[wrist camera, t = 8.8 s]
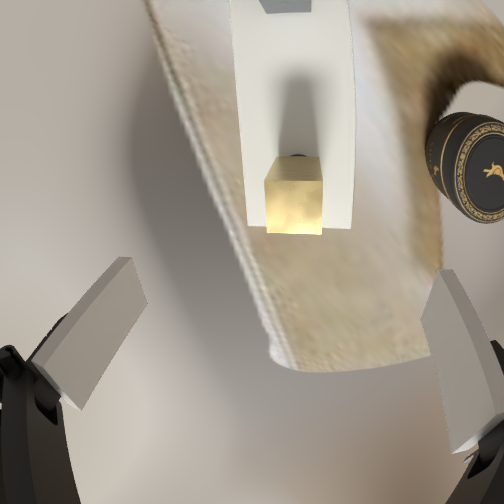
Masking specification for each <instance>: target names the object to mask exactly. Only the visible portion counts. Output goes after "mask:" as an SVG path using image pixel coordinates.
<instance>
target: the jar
mask: <svg viewBox="0 0 504 504" xmlns="http://www.w3.org/2000/svg"><path fill="white" fill-rule="evenodd" d="M426 162H427V166H428V170H429V172H430V175H431V177H432V180H433V181H434V183H435V185H436V186H437V188H438V189H439V190H440V191H441V192H442V193H443V194H444V195H445V196H446V197H447V198H448V199H449V200H450V201H451V202H452V204H453V205H454V206H455V207H456V208H457V209H458V210H460V211H461V212H462V213H463V214H464V215H466V216H467V217H468V218H470V219H471V220H473V221H476V222H479V223H486V224H488V223H494V222H498V221H500V220H502V219H503V218H504V123H503V122H501V121H499V120H497V119H494V118H493V117H490V116H487V115H481V114H480V115H477V114H473V113H468V112H457V113H453V114H450V115H448V116H446V117H444V118H442V119H441V120H440V121H438V122H437V123H436V125H435V126H434V127H433V129H432V130H431V132H430V135H429V137H428V140H427V145H426Z"/></svg>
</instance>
